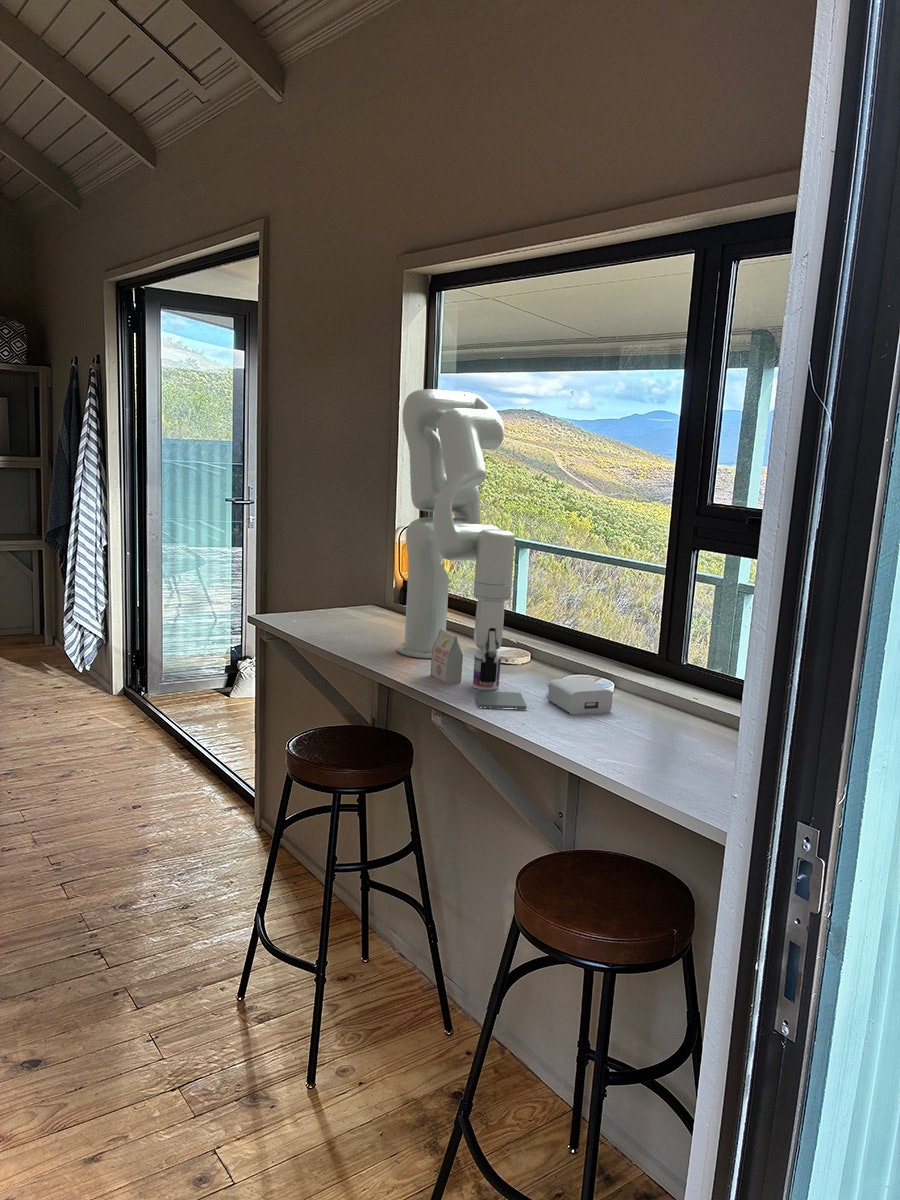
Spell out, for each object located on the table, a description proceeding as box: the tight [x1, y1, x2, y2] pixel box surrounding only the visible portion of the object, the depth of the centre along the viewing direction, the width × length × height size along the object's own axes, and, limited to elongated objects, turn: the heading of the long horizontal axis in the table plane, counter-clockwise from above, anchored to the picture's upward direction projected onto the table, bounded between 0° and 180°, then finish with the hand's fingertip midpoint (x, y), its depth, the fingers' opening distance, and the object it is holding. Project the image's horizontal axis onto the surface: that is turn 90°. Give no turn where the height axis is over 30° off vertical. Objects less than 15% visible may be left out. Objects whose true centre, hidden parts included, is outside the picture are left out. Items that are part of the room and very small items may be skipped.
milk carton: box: [430, 629, 464, 685], centre depth 191 cm, size 4×7×10 cm, turn 29°
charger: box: [546, 677, 614, 715], centre depth 181 cm, size 5×9×15 cm
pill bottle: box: [472, 645, 502, 691], centre depth 187 cm, size 5×5×10 cm
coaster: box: [475, 690, 528, 710], centre depth 178 cm, size 9×9×1 cm
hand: (486, 676), depth 187 cm, fingers closed on pill bottle, 5 cm apart
